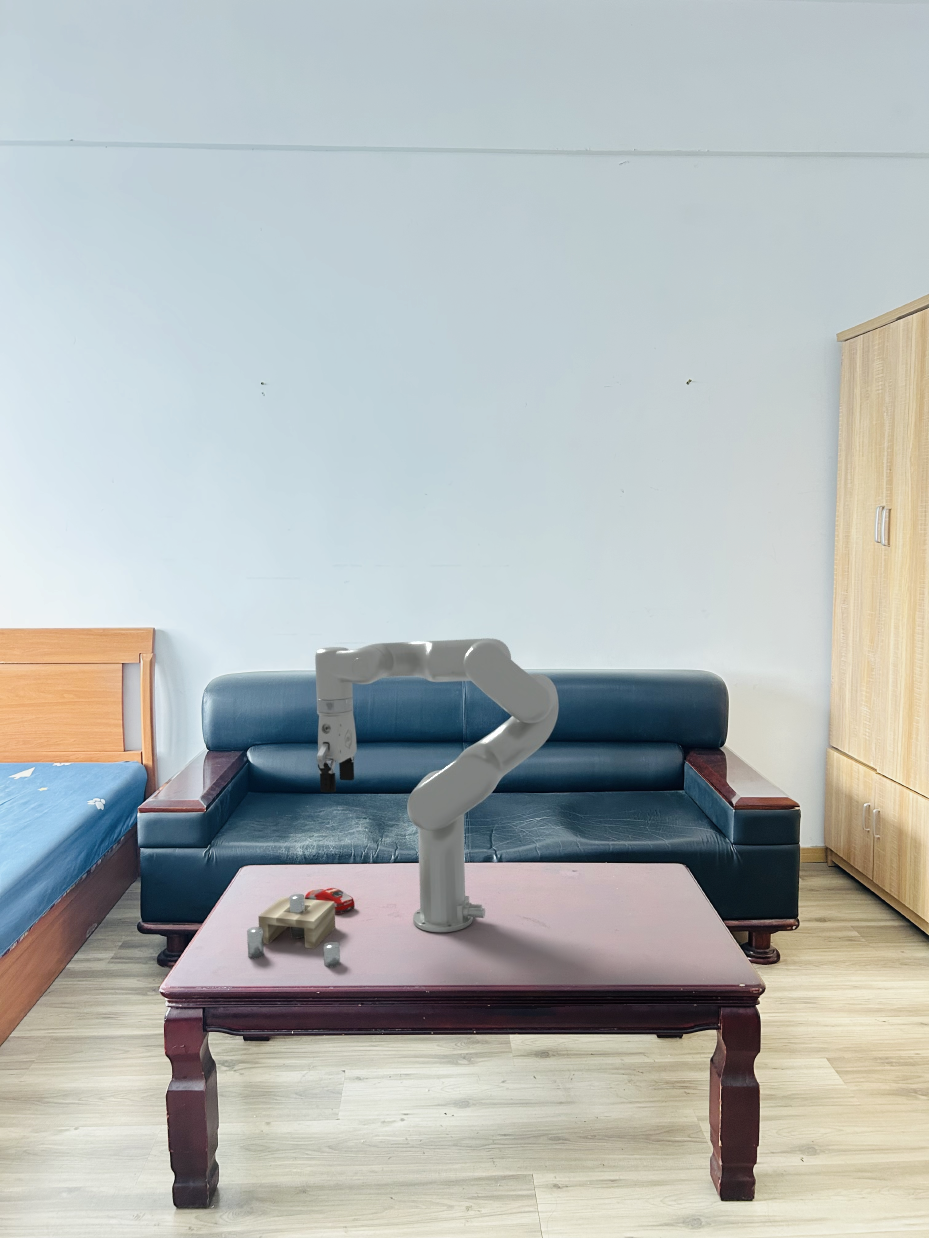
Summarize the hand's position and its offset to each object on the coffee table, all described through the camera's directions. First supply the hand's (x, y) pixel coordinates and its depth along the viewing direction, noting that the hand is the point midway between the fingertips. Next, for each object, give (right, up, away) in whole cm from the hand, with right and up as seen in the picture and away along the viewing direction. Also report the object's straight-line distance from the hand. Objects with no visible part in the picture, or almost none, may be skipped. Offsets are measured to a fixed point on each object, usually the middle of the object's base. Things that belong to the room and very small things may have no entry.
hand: (337, 785), depth 184 cm
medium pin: (-14, -30, -16) cm, 36 cm away
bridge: (-7, -29, -7) cm, 31 cm away
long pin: (-7, -29, -7) cm, 31 cm away
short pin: (+2, -30, -20) cm, 36 cm away
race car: (-3, -29, +7) cm, 30 cm away
